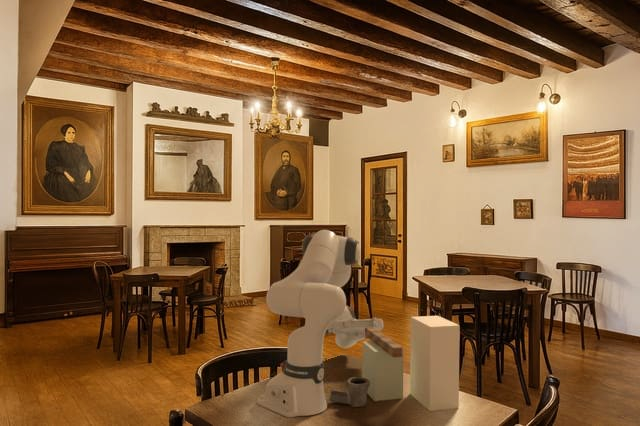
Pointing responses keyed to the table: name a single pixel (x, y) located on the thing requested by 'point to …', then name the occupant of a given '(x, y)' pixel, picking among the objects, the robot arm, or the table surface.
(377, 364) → the low stool
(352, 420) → the table surface
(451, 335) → the tall stand
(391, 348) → the walnut bar
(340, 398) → the pipe
